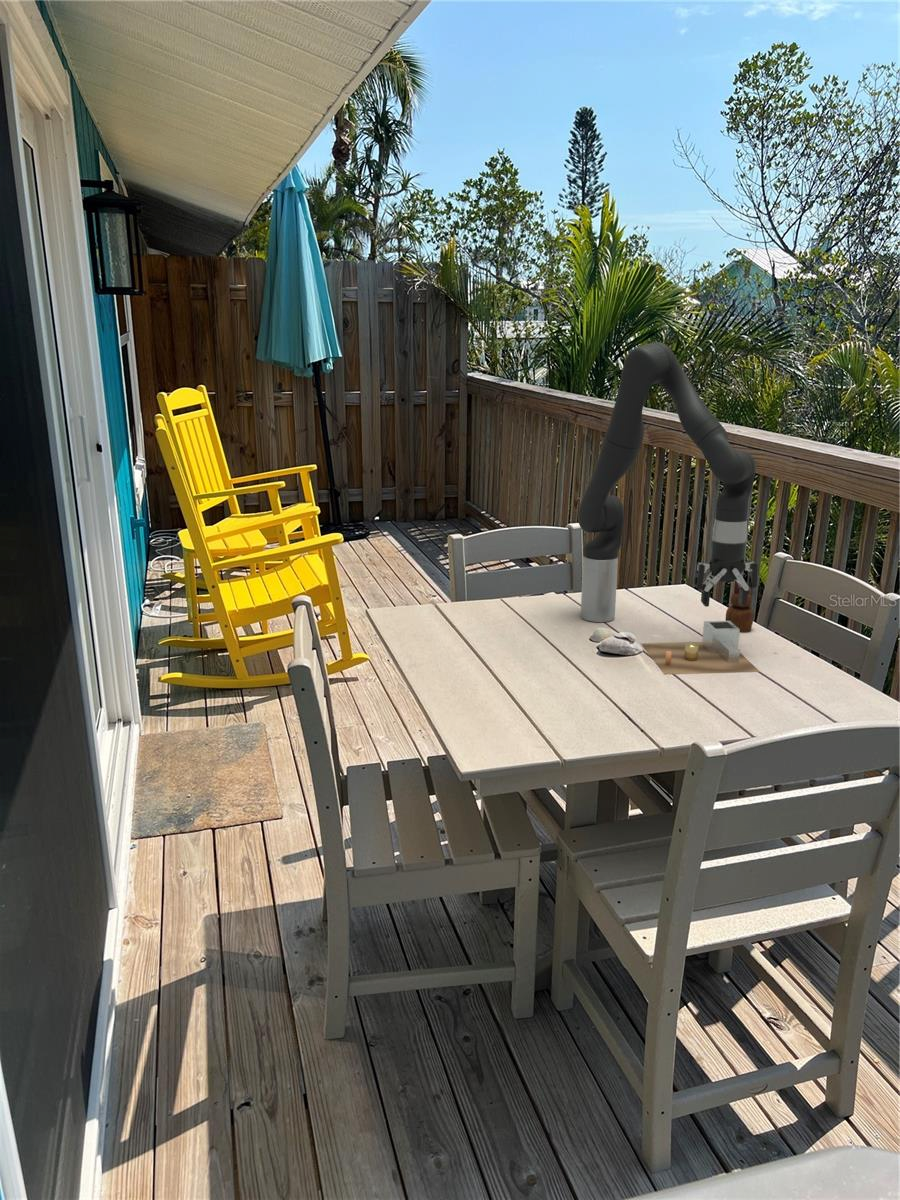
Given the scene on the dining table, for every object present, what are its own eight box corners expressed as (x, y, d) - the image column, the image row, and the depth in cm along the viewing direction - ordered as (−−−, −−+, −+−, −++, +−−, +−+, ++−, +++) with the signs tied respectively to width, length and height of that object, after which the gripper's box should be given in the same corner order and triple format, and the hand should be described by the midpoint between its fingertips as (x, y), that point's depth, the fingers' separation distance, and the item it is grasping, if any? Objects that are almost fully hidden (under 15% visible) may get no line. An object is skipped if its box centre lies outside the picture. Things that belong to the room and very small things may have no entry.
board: (640, 649, 218) (640, 643, 218) (727, 646, 220) (728, 641, 219) (663, 680, 199) (664, 674, 199) (759, 677, 201) (760, 671, 200)
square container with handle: (702, 644, 217) (704, 621, 215) (727, 643, 217) (729, 620, 216) (719, 663, 205) (722, 638, 203) (746, 662, 206) (749, 638, 204)
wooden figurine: (723, 636, 227) (728, 579, 223) (725, 629, 232) (730, 574, 228) (750, 639, 225) (756, 582, 220) (752, 632, 230) (758, 576, 225)
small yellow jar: (682, 656, 209) (683, 642, 208) (695, 656, 209) (696, 642, 208) (686, 661, 206) (687, 647, 205) (699, 660, 207) (700, 646, 206)
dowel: (664, 663, 205) (665, 651, 204) (669, 663, 205) (670, 650, 204) (666, 665, 204) (667, 652, 203) (671, 664, 204) (672, 652, 203)
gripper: (753, 534, 210) (746, 600, 215) (693, 535, 209) (688, 601, 214) (765, 541, 203) (759, 609, 207) (704, 542, 202) (699, 610, 207)
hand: (723, 605), depth 211 cm, fingers open, 8 cm apart
